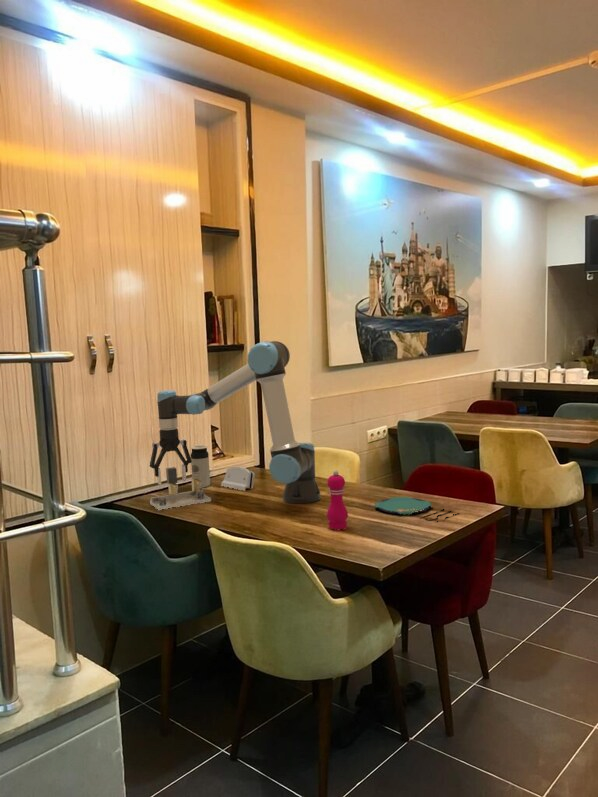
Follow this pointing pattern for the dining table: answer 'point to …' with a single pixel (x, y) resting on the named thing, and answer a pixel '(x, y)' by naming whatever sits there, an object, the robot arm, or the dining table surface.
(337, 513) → the pepper mill
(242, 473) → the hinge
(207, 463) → the travel mug
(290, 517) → the dining table surface
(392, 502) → the teal flat plaque
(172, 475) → the sliding leg
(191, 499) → the bolt plate
